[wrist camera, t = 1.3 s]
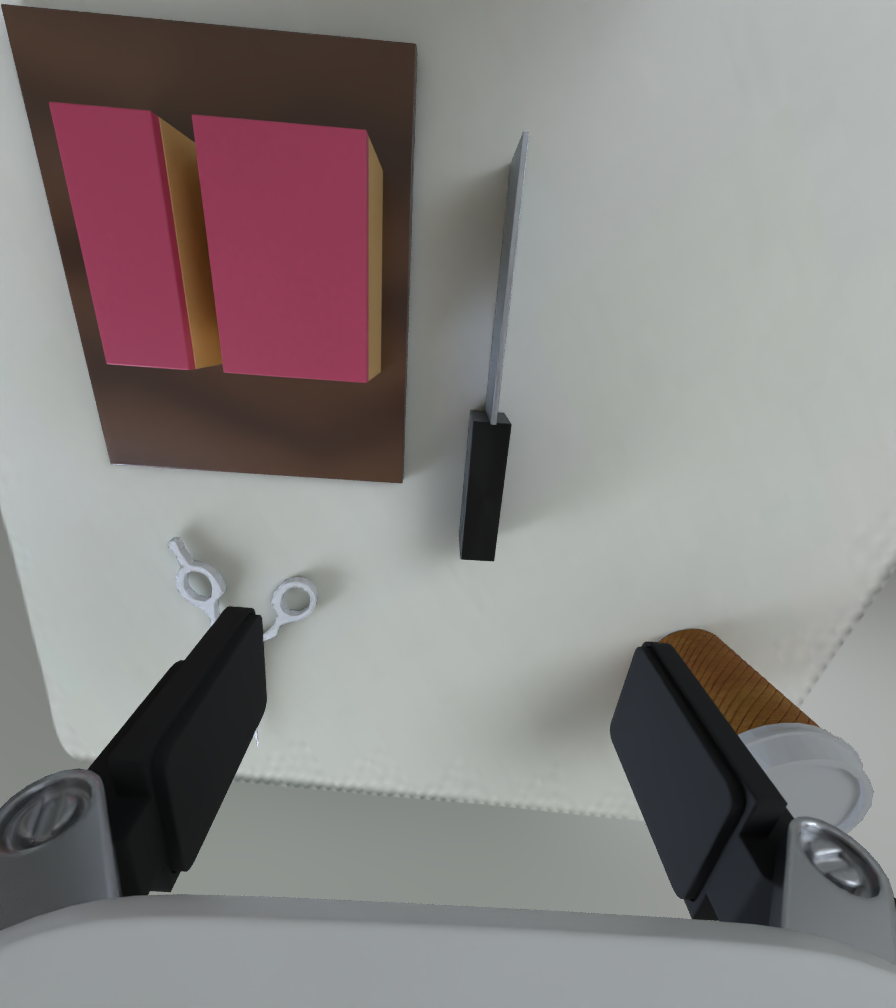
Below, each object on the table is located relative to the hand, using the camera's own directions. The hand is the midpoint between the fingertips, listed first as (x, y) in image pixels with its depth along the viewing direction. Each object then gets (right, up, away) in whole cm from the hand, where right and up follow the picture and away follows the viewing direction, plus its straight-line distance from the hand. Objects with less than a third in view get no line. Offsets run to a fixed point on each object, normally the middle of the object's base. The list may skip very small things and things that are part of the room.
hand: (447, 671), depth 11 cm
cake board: (-12, +17, +14) cm, 25 cm away
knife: (+3, +12, +16) cm, 20 cm away
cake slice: (-14, +17, +13) cm, 26 cm away
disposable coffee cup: (+19, -9, +25) cm, 33 cm away
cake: (-7, +17, +13) cm, 23 cm away
